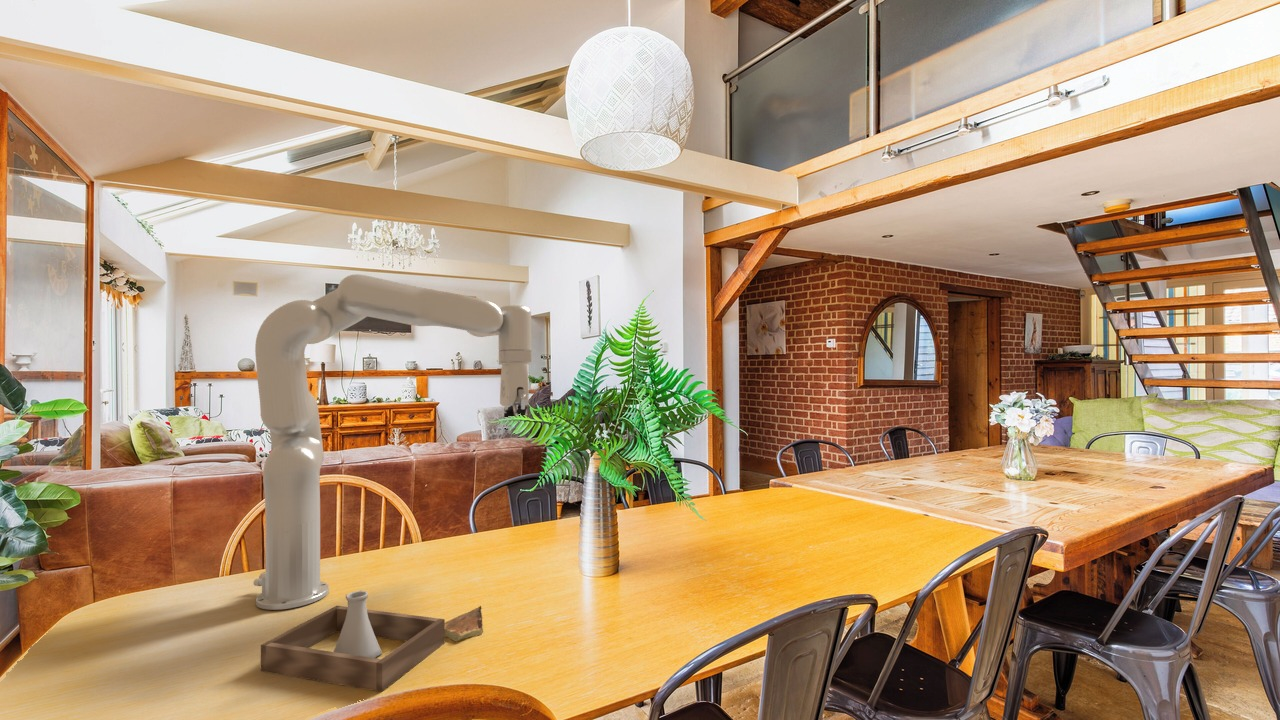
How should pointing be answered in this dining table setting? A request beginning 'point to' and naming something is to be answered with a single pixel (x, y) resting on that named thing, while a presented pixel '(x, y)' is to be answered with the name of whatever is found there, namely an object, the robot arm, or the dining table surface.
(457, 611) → the dining table surface
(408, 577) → the dining table surface
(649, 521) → the dining table surface
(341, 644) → the flask
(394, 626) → the brown wooden frame
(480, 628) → the shard
